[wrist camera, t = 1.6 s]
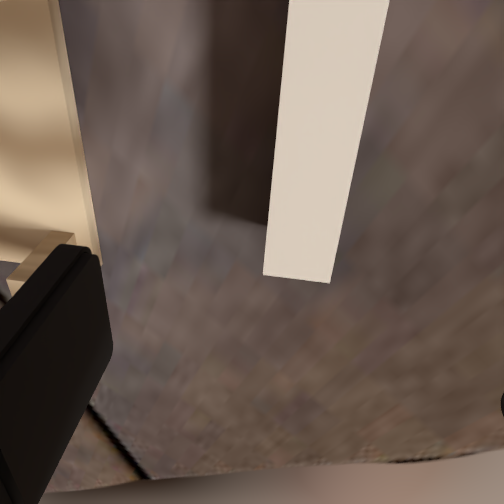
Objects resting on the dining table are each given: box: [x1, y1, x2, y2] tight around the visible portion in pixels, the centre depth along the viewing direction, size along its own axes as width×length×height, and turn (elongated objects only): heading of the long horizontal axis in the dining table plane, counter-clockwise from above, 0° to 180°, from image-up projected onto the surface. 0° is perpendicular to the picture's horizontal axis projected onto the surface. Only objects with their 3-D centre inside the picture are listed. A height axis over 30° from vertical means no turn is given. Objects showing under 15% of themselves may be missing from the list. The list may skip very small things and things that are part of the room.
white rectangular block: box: [263, 0, 389, 283], centre depth 20 cm, size 16×4×5 cm, turn 177°
